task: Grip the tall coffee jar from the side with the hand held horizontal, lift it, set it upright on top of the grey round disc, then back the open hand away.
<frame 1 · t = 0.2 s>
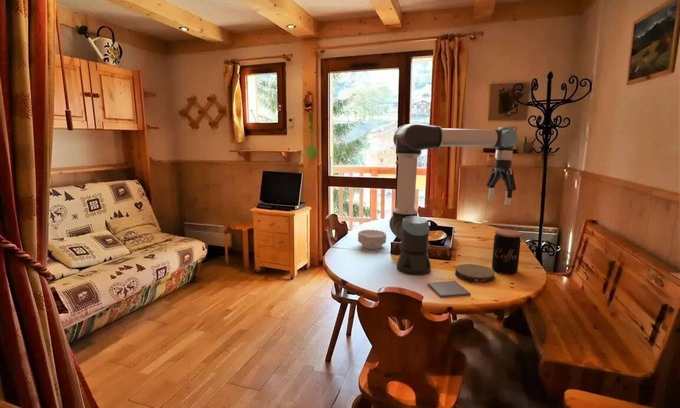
hand: (498, 202, 178), 27 cm above the table, tool pointing down, fingers open, 13 cm apart
grey round disc: (474, 277, 155), on the table
slate coaster: (448, 290, 140), on the table
coffee jar: (504, 271, 162), on the table
paper bowls: (371, 247, 196), on the table
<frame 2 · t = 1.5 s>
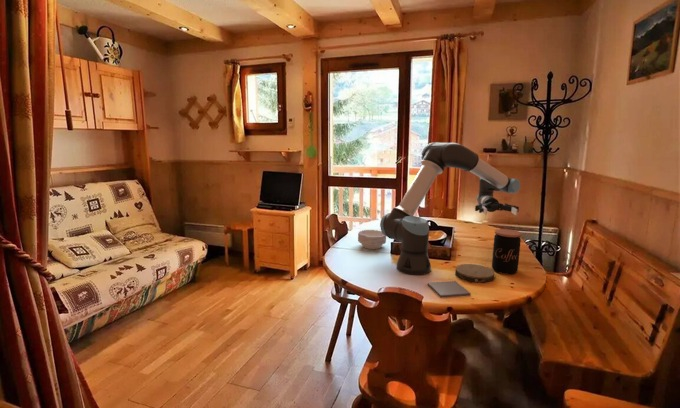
hand: (501, 212, 169), 25 cm above the table, tool horizontal, fingers open, 13 cm apart
nothing on the table moved.
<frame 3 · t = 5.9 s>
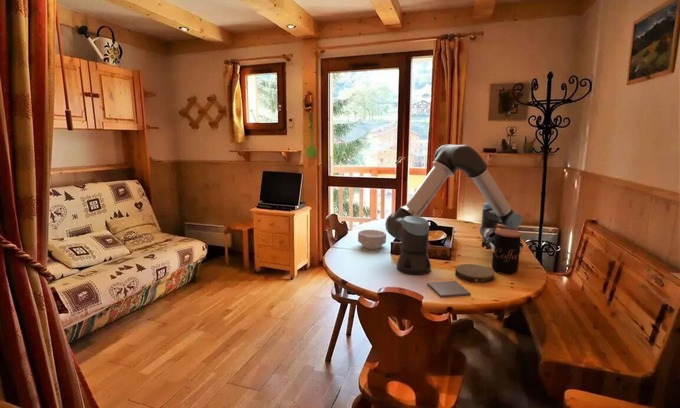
hand: (507, 250, 159), 10 cm above the table, tool horizontal, fingers closed on coffee jar, 11 cm apart
coffee jar: (504, 270, 162), on the table, touching gripper
everything else where it was.
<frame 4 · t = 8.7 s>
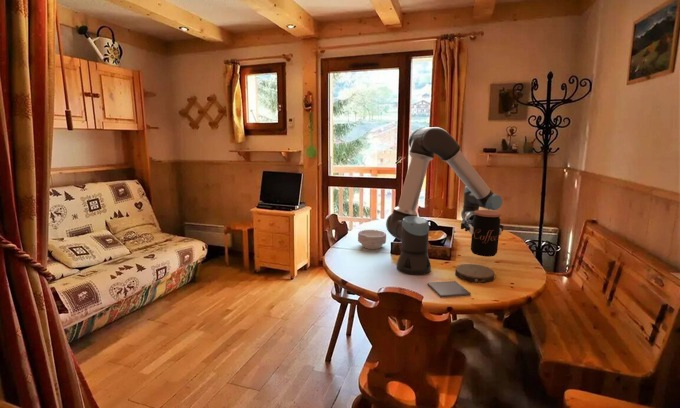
hand: (486, 231, 151), 20 cm above the table, tool horizontal, fingers closed on coffee jar, 11 cm apart
coffee jar: (483, 253, 155), point 10 cm above the table, touching gripper
everything else where it was.
when the fingers open (14 cm above the table, at t = 11.4 s): coffee jar drops 2 cm, resting on grey round disc.
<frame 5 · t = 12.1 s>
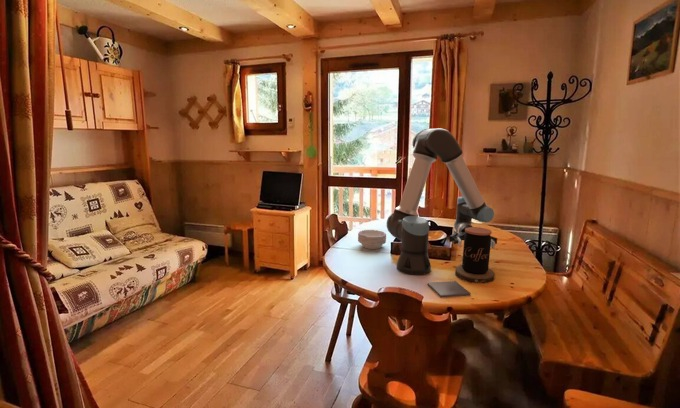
hand: (477, 244, 152), 14 cm above the table, tool horizontal, fingers open, 13 cm apart
grey round disc: (474, 277, 155), on the table, touching coffee jar
coffee jar: (474, 271, 155), point 2 cm above the table, touching grey round disc
everything else where it was.
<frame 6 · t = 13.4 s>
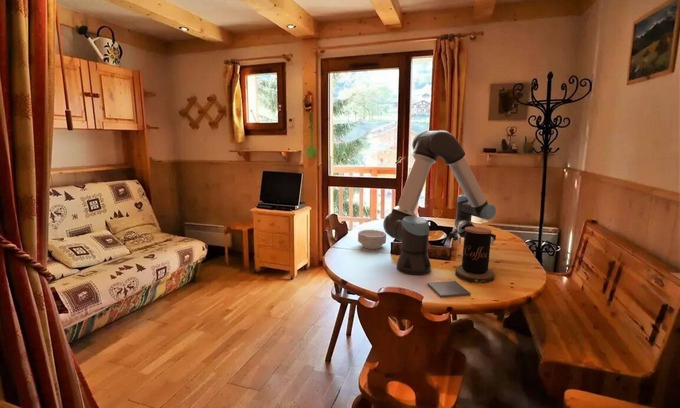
hand: (476, 241, 156), 14 cm above the table, tool horizontal, fingers open, 13 cm apart
nothing on the table moved.
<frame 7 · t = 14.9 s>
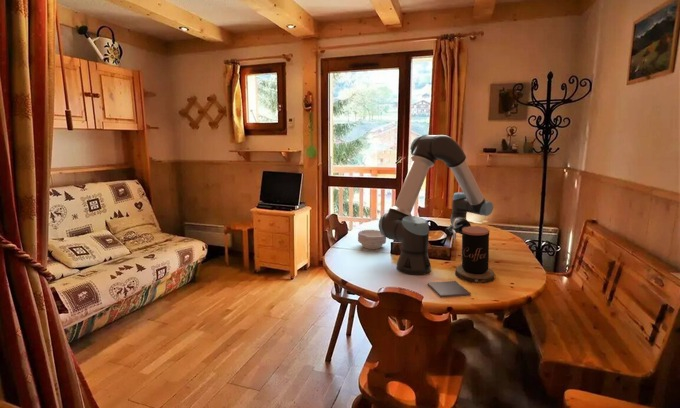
hand: (470, 236, 164), 14 cm above the table, tool horizontal, fingers open, 13 cm apart
grey round disc: (474, 277, 155), on the table
coffee jar: (475, 270, 155), point 3 cm above the table
everything else where it was.
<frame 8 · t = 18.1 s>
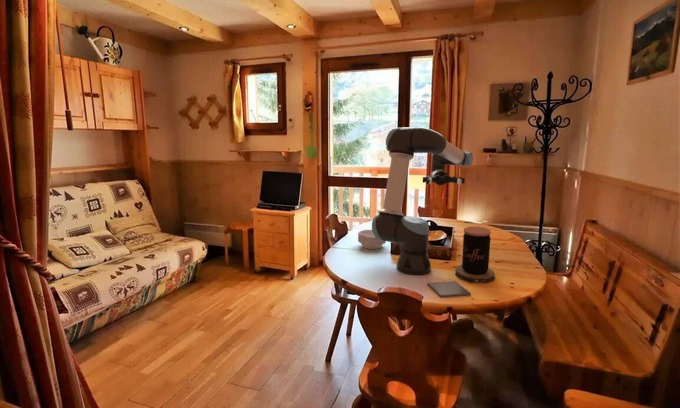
hand: (445, 182, 171), 38 cm above the table, tool horizontal, fingers open, 13 cm apart
grey round disc: (474, 277, 155), on the table, touching coffee jar
coffee jar: (474, 270, 154), point 3 cm above the table, touching grey round disc
everything else where it was.
at the end: coffee jar inside the target area on the grey round disc (0.2 cm from its centre), point 3.3 cm above the grey round disc's base; coffee jar tilted 4°; the gripper is holding nothing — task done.
